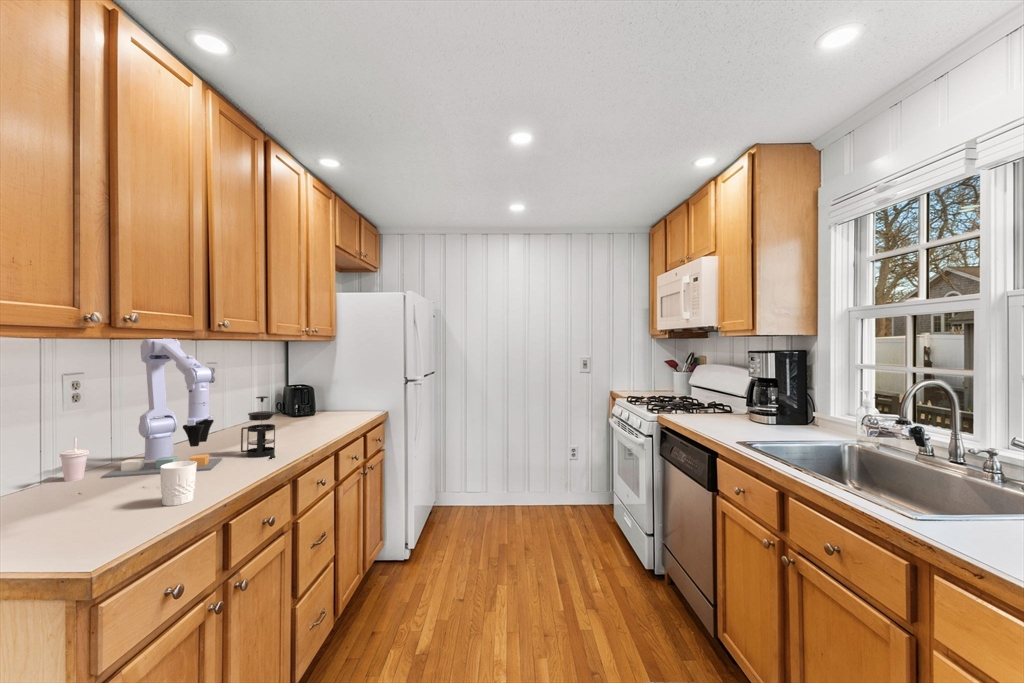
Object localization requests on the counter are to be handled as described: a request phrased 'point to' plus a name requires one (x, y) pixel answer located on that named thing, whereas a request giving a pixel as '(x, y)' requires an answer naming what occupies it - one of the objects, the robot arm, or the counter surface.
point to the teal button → (165, 461)
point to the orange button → (200, 459)
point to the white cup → (178, 482)
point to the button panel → (151, 469)
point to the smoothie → (74, 463)
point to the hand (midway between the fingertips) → (198, 444)
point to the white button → (132, 464)
